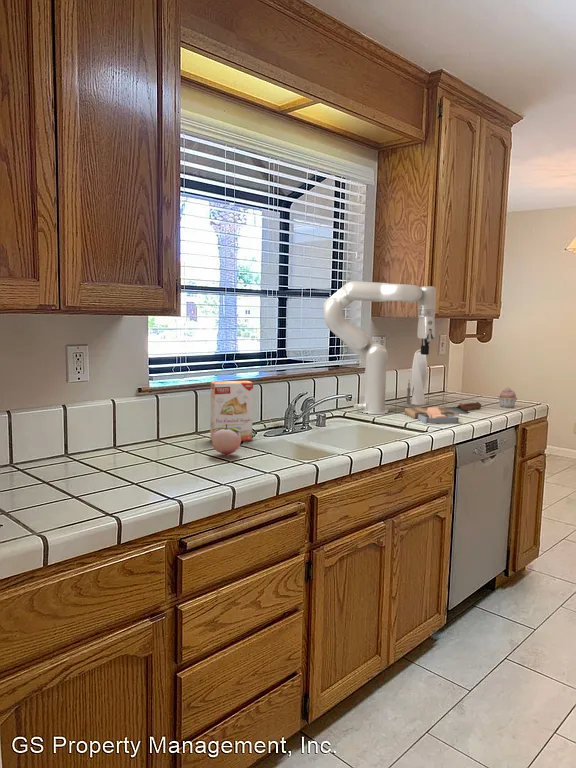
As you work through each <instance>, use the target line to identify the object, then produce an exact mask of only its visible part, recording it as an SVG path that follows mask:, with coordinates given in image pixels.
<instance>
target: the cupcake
mask: <svg viewBox="0 0 576 768" xmlns="http://www.w3.org/2000/svg"><path fill="white" fill-rule="evenodd" d="M516 396H517V395H516V392H515V390H512V389H511V387H509V386H508V387H506V388H504V389H503V390H502V391H501V392H500V393H499V396H497V398H498V401H499V406H500V407H501V408H503V407H505V408H506V409H513V408H515V405H516V403H517V400H518V397H516ZM505 408H504V409H505Z"/></svg>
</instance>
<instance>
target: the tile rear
mask: <svg viewBox="0 0 576 768" xmlns="http://www.w3.org/2000/svg"><path fill="white" fill-rule="evenodd" d="M427 408H428V409H427V414H428V416H429V418H432V414H441V412H440V411H439V409H438V408H439V407H427Z"/></svg>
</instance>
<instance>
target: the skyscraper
mask: <svg viewBox="0 0 576 768" xmlns="http://www.w3.org/2000/svg"><path fill="white" fill-rule="evenodd" d="M411 366H412V367H411V380H412V387H413V388H412V389H413V392H412V396H411V388H410V387H411V383H410V379H408V383H407V385H408V386H407V388H406V389H407V394H406V403H405V405H406V404H408V406H411V405H413V406H412V407H421V406H422V405H424V406H427V405H426V397H425V392H424V389H425V386H426V382H427V379H428V378H427V375H428V359H427V355H422V354H421V348H420V349H417V350H416V351H415V353H414V356H413V360H412V365H411ZM422 407H423V406H422Z"/></svg>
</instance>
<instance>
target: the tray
mask: <svg viewBox="0 0 576 768" xmlns="http://www.w3.org/2000/svg"><path fill="white" fill-rule="evenodd" d="M442 415H445V416H447V417H446V418H429V416H428V414H418V415H417V419H418V420H417V421H419V420H420V421H419V422H421V421H422V422H421V423H423V422H424V423H423V424H425V423H458V424H459V417H457V416H453V415H450V414H442Z"/></svg>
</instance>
